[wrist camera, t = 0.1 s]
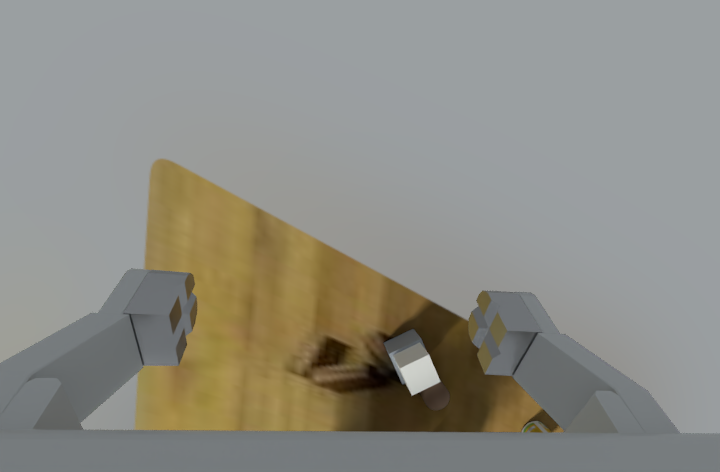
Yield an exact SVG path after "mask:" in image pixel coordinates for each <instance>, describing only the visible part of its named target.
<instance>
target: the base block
mask: <svg viewBox="0 0 720 472" xmlns="http://www.w3.org/2000/svg"><path fill="white" fill-rule="evenodd" d="M419 342H420V343H421V345H422V346H423V347H424V349H425V350H426V348H425V346H424V344H423V341H422V339H421V338H420V336H419V335H418V334H417V333H416V331H415V330H414V329H411V330H409V331H407V332H405V333H403V334H401V335H399V336H397V337H395V338H392V339H390V340H388V341H386V342H384V345H385V348H386V350H387V352H388V354H389V357H390V359H391V361H392V363H393V366H394V368H395V370H396V372H397V374H398V376H399V378H400V380H401V382H402V384H405V381H404V379H403V377H402V374H401V372H400V370H399V368H398V365H397V363H396V361H395V359H394V356H393V355H394V354H396V353H398V352H401V351H403V350H405V349H407V348H409V347H411V346H413V345H415V344H417V343H419Z"/></svg>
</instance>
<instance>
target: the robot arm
mask: <svg viewBox="0 0 720 472" xmlns="http://www.w3.org/2000/svg"><path fill="white" fill-rule="evenodd" d="M194 285H195V283H194V277H193V275H192V274H191V273H184V272H172V271H160V270H143V269H130V270H128V271H127V272H126V273H125V274H124V276H123V277H122V279H121V280H120V282H119V283H118V285H117V286H116V288H115V289H114V290H113V292H112V293H111V295H110V296H109V298H108V299H107V301H106V302H105V303H104V305H103V306H102V308H101V310H100V311H99V312H98V313H90V314H89V315H87V316H85V317H83V318H81V319H79V320H78V321H76V322H74V323H72V324H70V325H69V326H67V327H65V328H63V329H61V330H60V331H58V332H56V333H54V334H52V335H50V336H48V337H47V338H45V339H43V340H41V341H40V342H38V343H36V344H34V345H32V346H30V347H29V348H27V349H25V350H23V351H21V352H20V353H18V354H16V355H14V356H12V357H10V358H9V359H7V360H5V361H3V362H1V363H0V472H720V434H699V433H695V434H694V433H692V434H691V433H683V434H682V433H680V432H679V431H678V429H677V428H676V427H675V425H674V424H673V423H672V422H671V420H670V419H669V418H668V416H667V415H666V414H665V413H664V411H663V410H662V409H661V407H660V406H659V405H658V403H657V402H656V401H655V400H654V398H653V397H652V396H651V394H650V393H649V392H648V391H647V390H646V389H644V388H643V387H641V386H640V385H638V384H637V383H636V382H634V381H633V380H631V379H630V378H628V377H627V376H625V375H624V374H622V373H621V372H620V371H618V370H617V369H615V368H614V367H612V366H611V365H609V364H608V363H607V362H605V361H604V360H602V359H601V358H599V357H598V356H596V355H595V354H593V353H592V352H590V351H589V350H588V349H586V348H585V347H583V346H582V345H580V344H579V343H577V342H576V341H575V340H573V339H572V338H570V337H569V336H567V335H565V334H560V333H559V331H558V330H557V328H556V327H555V325H554V324H553V322H552V320H551V319H550V317H549V316H548V314H547V313H546V311H545V310H544V308H543V307H542V305H541V304H540V302H539V301H538V299H537V298H536V296H535V295H534V294H532V293H526V292H514V293H513V292H499V291H482V292H481V293H480V294H479V296H478V298H477V303H478V305H479V307H477V308H476V309H474V310H473V311H472V312H471V315H470V317H469V323H468V330H469V336H470V338H471V341H472V343H473V344H474V345H475V346H477V347H478V348H479V351H478V354H477V356H478V359H479V361H480V364H481V366H482V369H483V371H484V374H488V375H506V376H513V378H514V380H515V381H516V382H517V383H518V384H519V385H520V386H521V387H522V388H523V389H524V390H525V391H526V392H527V393H528V394H529V395H530V396H531V397H532V398H533V399H534V400H535V401H536V402H537V403H538V404H539V405H540V406H541V407H542V408H543V409H544V410H545V411H546V412H547V413H548V414H549V415H550V417H551V418H552V419H553V420H554V421H555V422H556V423H557V424H558V425H559V426H560V427H561V428H562V429H563V430H564V432H563V433H536V432H360V431H214V430H83V428H82V426H81V424H80V423H81V422H82V421H83V420H84V419H85V418H86V417H87V416H89V415H90V414H91V413H92V412H93V411H94V410H95V409H97V408H98V407H99V406H100V405H101V404H102V403H103V402H105V401H106V400H107V399H108V398H109V397H110V396H111V395H112V394H114V392H116V391H117V390H118V389H119V388H120V387H122V385H124V384H125V383H126V382H127V381H128V380H130V379H131V378H132V377H133V376H134V375H135V374H136V373H137V372H139V371H140V370H141V369H142V368H143V366H179V364H180V361H181V358H182V356H183V353H184V351H185V348H186V346H187V342H186V335H187V334H189V333H190V332H192V330H193V327H194V324H195V320H196V315H197V297H196V296H195V295H194V294H193V293H192V290H193V288H194Z"/></svg>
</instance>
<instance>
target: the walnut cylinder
mask: <svg viewBox="0 0 720 472" xmlns="http://www.w3.org/2000/svg"><path fill="white" fill-rule="evenodd" d="M440 381H441V380H440ZM419 393H420V395H421V397H422V398H423V400H424V402H425V404H426V405H427V407H428V408H430V409H432V410H441V409H443V408H444V407H445V406H446V405H447V404H448V402H449V400H450V394H449V391H448V390H447V388H446V387H445V386H444V384H443V383H442V381H441V382H439V383H437V384H435V385H433V386H431V387H429V388H427V389H425V390H423V391H421V392H419Z"/></svg>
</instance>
